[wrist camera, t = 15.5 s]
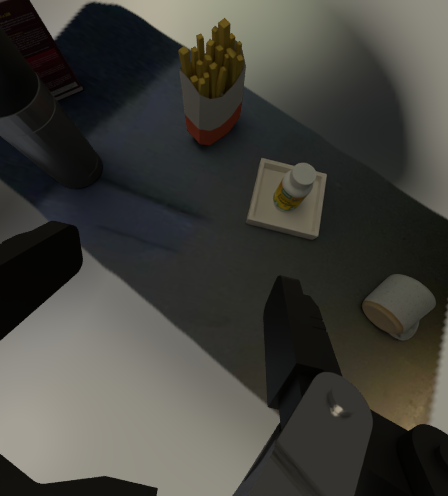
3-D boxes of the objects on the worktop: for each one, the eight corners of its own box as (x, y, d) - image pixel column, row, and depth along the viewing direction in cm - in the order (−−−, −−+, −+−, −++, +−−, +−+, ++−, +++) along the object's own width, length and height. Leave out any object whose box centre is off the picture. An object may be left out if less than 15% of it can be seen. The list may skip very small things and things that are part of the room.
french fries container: (239, 127, 49) (255, 31, 32) (201, 153, 47) (196, 65, 30) (225, 113, 50) (234, 12, 33) (188, 138, 48) (175, 45, 30)
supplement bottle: (301, 195, 45) (325, 167, 36) (292, 217, 44) (314, 194, 35) (277, 184, 46) (295, 153, 36) (268, 205, 44) (283, 179, 35)
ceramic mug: (350, 302, 42) (381, 303, 34) (379, 275, 43) (414, 270, 36) (390, 349, 40) (432, 361, 33) (418, 320, 42) (464, 325, 34)
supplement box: (75, 75, 50) (14, -26, 35) (84, 90, 49) (27, -6, 34) (37, 90, 48) (-44, -9, 33) (46, 106, 48) (-32, 12, 32)
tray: (245, 223, 44) (247, 218, 42) (259, 165, 47) (261, 157, 45) (312, 240, 44) (318, 236, 42) (320, 180, 47) (326, 174, 45)
